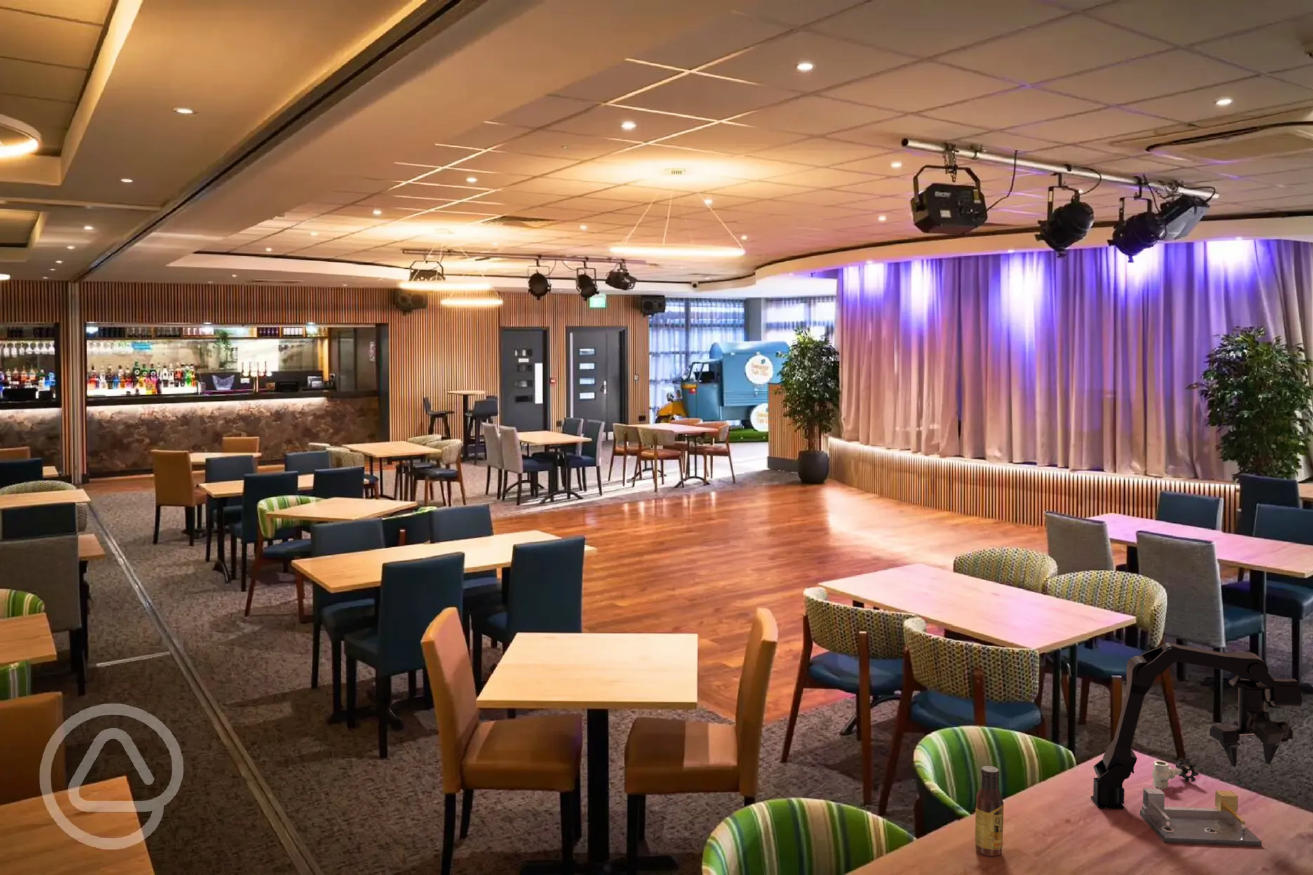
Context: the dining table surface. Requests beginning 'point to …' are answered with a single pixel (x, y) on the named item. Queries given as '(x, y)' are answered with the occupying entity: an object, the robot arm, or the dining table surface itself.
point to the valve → (1172, 772)
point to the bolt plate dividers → (1193, 823)
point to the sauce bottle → (989, 814)
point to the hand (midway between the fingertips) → (1250, 764)
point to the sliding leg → (1229, 805)
